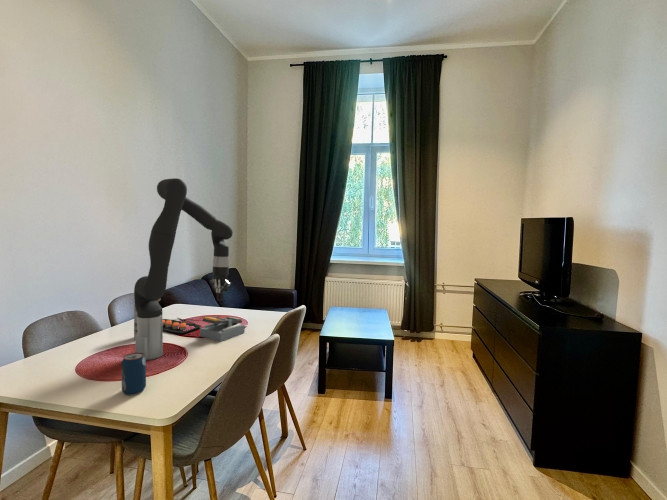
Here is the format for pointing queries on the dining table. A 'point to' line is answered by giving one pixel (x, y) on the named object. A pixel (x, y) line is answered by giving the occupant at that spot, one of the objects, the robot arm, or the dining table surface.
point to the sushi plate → (173, 325)
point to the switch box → (218, 334)
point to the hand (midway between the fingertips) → (219, 300)
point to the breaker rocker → (221, 320)
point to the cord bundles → (225, 328)
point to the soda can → (133, 373)
